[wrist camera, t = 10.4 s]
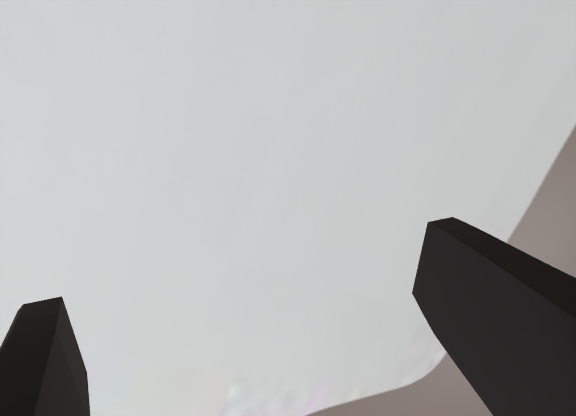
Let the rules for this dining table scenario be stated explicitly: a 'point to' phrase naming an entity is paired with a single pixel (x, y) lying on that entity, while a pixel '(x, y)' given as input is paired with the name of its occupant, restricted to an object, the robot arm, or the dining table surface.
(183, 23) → the dining table surface
